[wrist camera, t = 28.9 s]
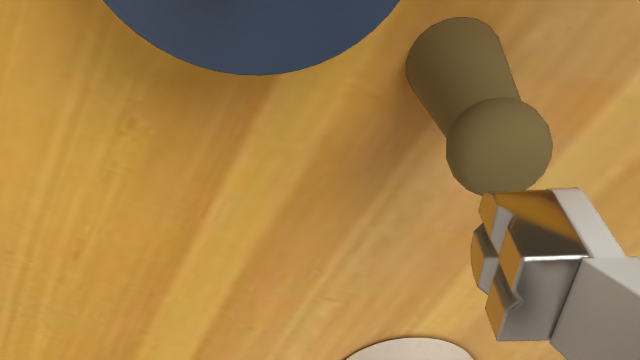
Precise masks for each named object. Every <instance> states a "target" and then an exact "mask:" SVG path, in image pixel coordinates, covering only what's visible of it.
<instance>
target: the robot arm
mask: <svg viewBox="0 0 640 360" xmlns="http://www.w3.org/2000/svg"><path fill="white" fill-rule="evenodd" d="M479 213H480V216H481V218H482V221H483V223H482V224H481V225H480V226H479V227H478V228H477V229H476V230H475V231H474V233H473V238H472V243H471V265H472V271H473V275H474V278H475V281H476V284H477V287H478V288H479V289H481V290H482V291H483V292H485V293H486V294H487V295H488V298H487V302H486V306H485V310H486V312H487V315H488V318H489V321H490V323H491V326H492V329H493V331H494V334H495V337H496V340H497V341H546V340H550V344H551V345H552V346H553V347H554V348H555V349H557V350H558V351H559V352H560V353H561V354H562V355H563V356H564V357H565V358H566V359H567V360H640V258H638V257H627V256H626V255H625V253H624V251H623V250H622V248H621V247H620V245H619V244H618V242H617V241H616V239H615V238H614V236H613V235H612V233H611V232H610V230H609V229H608V227H607V226H606V224H605V223H604V221H603V220H602V218H601V217H600V215H599V214H598V212H597V211H596V209H595V207H594V206H593V204H592V203H591V201H590V200H589V198H588V197H587V195H586V194H585V192H584V191H583V190H581V189H579V188H578V187H573V188H553V189H546V190H521V191H492V192H485V194H484V195H483V197H482V199H481V203H480V207H479ZM346 360H474V359H473V358H472V357H471V356H470V354H469V353H467V352H466V351H465V350H464V349H462V348H460V347H459V346H457V345H454V344H452V343H449V342H446V341H443V340H438V339H432V338H401V339H394V340H389V341H385V342H381V343H378V344H375V345H372V346H369V347H367V348H364V349H362V350H360V351H358V352H356V353H355V354H353V355H351V356H350V357H349V358H347V359H346Z"/></svg>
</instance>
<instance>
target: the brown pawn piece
mask: <svg viewBox="0 0 640 360" xmlns="http://www.w3.org/2000/svg"><path fill="white" fill-rule="evenodd" d="M406 70H407V78H408V81H409V83H410V85H411V88H412V89H413V91H414V92H415V94H416V95H417V97H418V98H419V99H420V101H421V102H422V104H423V105H424V107H425V108H426V109H427V111H428V112H429V114H430V115H431V117H432V118H433V120H434V121H435V122H436V124H437V125H438V127H439V128H440V130H441V131H442V133H443V134H444V135H445V137H446V138H447V142H446V159H447V161H448V164H449V167H450V169H451V172H452V174H453V176H454V177H455V178H456V179H457V181H458V182H459V183H460V184H461V185H463V186H464V187H465V188H466V189H467V190H469V191H471V192H473V193H476V194H478V195H481V196H483V195H484V194H485V192H492V191H521V190H525V189H527V188H529V187H530V186H532V185H533V184H535V182H536V181H537V180H538V179H539V178H540V177H541V176H542V175H543V174H544V172H545V170H546V168H547V166H548V165H549V162H550V160H551V156H552V149H553V142H552V137H551V133H550V130H549V126H548V124H547V123H546V121H545V120H544V119H543V118H542V116H541V115H540V114H539V113H538V112H537V110H536V109H534V108H533V107H531V106H530V105H528V104H526V103H524V102H522V101H521V99H520V96H519V93H518V90H517V88H516V85H515V82H514V79H513V76H512V74H511V71H510V68H509V65H508V62H507V60H506V57H505V54H504V51H503V48H502V46H501V43H500V40H499V37H498V36H497V35H496V33H495V32H494V31H493V30H492V28H491V27H490V26H488V25H487V24H485V23H483V22H481V21H479V20H478V19H472V18H466V17H459V18H452V19H446V20H444V21H442V22H440V23H437V24H435V25H433V26H431V27H430V28H429V29H428V30H426V31H425V32H424V33H423V34H422V35H420V36H419V38H418V39H417V40H416V42H415V43H414V45H413V46H412V48H411V49H410V52H409V56H408V59H407V62H406Z"/></svg>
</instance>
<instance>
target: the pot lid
mask: <svg viewBox="0 0 640 360" xmlns="http://www.w3.org/2000/svg"><path fill="white" fill-rule="evenodd" d="M103 1H104V2H105V3H106V4H107V5H108V6H109V8H110V9H111V10H112V11H113V12H114V13H115V14H116V15H117V16H118V17H119V18H120V19H121V20H122V21H123V22H124V23H125V24H127V25H128V26H129V27H130V28H131V29H132V30H134V31H135V32H136V33H137V34H138V35H140V36H141V37H143V38H144V39H146V40H147V41H148V42H150V43H151V44H153V45H154V46H156V47H157V48H159V49H161V50H163V51H165V52H167V53H168V54H170V55H172V56H174V57H176V58H178V59H181V60H183V61H186V62H188V63H191V64H193V65H196V66H199V67H203V68H206V69H210V70H214V71H217V72H224V73H230V74H237V75H259V76H260V75H272V74H282V73H287V72H292V71H297V70H301V69H304V68H307V67H311V66H314V65H317V64H320V63H322V62H324V61H326V60H328V59H331V58H333V57H335V56H337V55H339V54H341V53H342V52H344V51H346V50H347V49H349V48H350V47H352V46H354V45H355V44H357V43H358V42H359V41H361V40H362V39H363V38H364V37H366V36H367V35H368V34H369V33H371V32H372V31H373V30H374V29H375V28H376V27H377V26H378V25H379V24H380V23H381V22H382V21H383V20H384V19H385V18H386V17H387V16H388V15H389V14H390V13H391V11H392V10H393V9H394V7H395V6H396V5H397V4H398V2H399V1H400V0H103Z"/></svg>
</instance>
